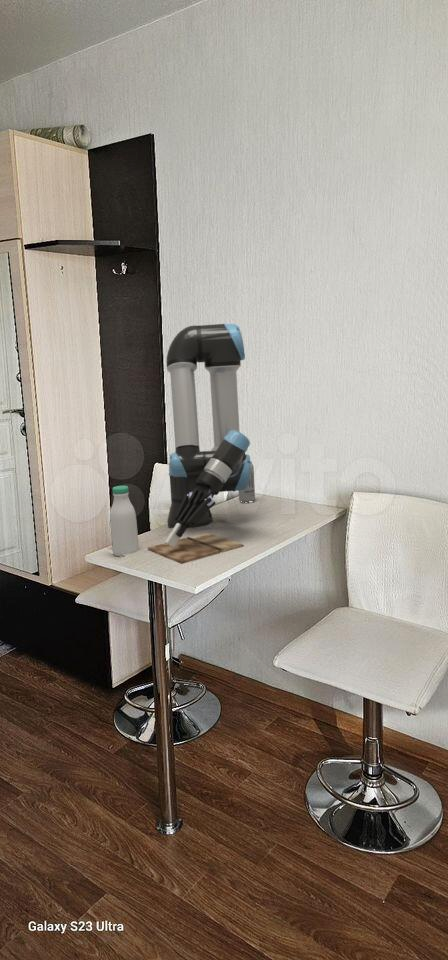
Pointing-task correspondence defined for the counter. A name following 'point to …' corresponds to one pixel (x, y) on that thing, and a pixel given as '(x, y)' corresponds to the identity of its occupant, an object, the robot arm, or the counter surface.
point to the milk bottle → (123, 523)
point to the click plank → (184, 551)
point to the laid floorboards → (216, 542)
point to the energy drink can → (248, 488)
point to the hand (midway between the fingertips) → (169, 544)
